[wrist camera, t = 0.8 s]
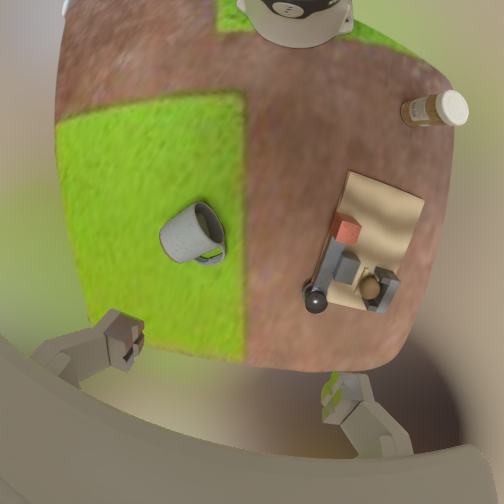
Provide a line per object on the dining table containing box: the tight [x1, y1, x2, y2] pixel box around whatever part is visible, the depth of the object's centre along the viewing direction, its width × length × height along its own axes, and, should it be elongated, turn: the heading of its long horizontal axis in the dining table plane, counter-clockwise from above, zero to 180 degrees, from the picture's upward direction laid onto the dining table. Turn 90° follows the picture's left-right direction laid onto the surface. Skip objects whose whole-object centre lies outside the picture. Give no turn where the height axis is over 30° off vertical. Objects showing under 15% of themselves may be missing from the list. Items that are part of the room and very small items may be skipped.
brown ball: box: [359, 278, 380, 299], centre depth 41 cm, size 4×4×4 cm
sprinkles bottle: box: [401, 90, 469, 128], centre depth 27 cm, size 5×5×14 cm
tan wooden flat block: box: [302, 170, 425, 314], centre depth 40 cm, size 23×15×6 cm, turn 167°
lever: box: [304, 212, 362, 314], centre depth 40 cm, size 16×6×5 cm, turn 167°
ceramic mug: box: [159, 201, 225, 266], centre depth 42 cm, size 11×8×8 cm
